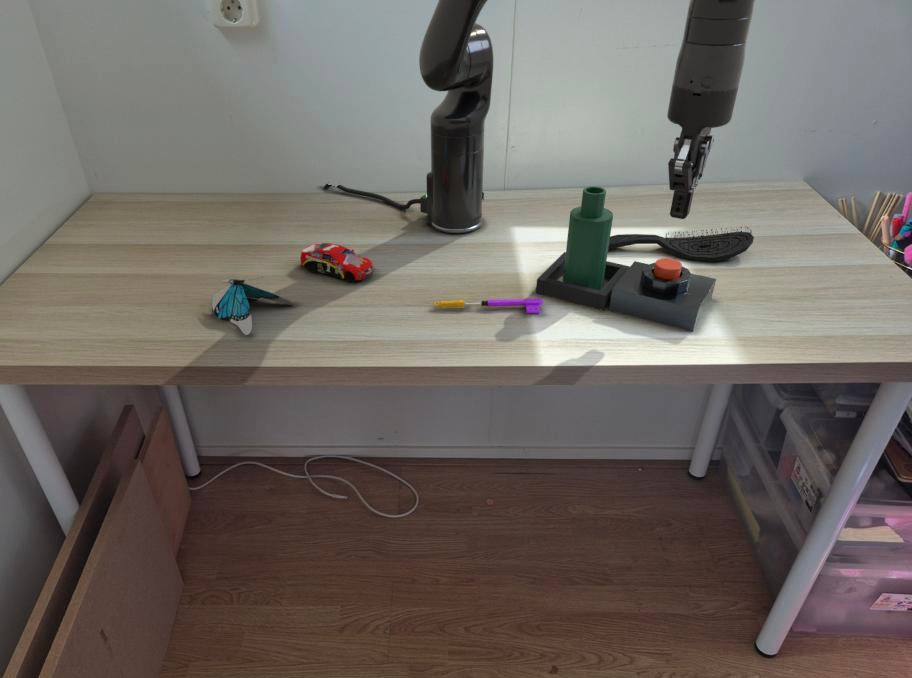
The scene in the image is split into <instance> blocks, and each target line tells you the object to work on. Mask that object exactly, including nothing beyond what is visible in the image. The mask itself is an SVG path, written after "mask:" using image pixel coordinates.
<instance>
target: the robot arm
mask: <svg viewBox="0 0 912 678" xmlns="http://www.w3.org/2000/svg"><path fill="white" fill-rule="evenodd" d="M488 1H489V0H438V2H437V4H436V6H435V9H434V11H433V13H432V16H431V19H430V21H429V23H428V26H427V28H426V31H425V33H424V36H423V39H422V41H421V46H420V48H419V49H420V51H419V56H418V64H419V73H420V76H421V79H422V81H423V83H424V85H426V87H427V88H428V89H430V90H432V91H435V92H447V93H446V95H445V96H444V98H443V100H442V101H441V102H440V103H439V104H438V105H437V106H435V108H434V109H433V110H432V111H431V114H430V121H429V123H430V171H429V172H427V173H426V179H425V180H426V193H425V194H424V195H422V196H421V197H419V198H413V199H410V200H408V201H407V202H406V203H405V204H403V203H402V204H401V203H399V202H396V201H394V200H393V199H391V198H388V197H386V196H384V195H381V194H379V193H378V194H377V193H374V192H369V191H364V190H358V189H353V188H350V187H346V186H344V185H343V184H342V185H341V184H340V185H338V186H337V187H335V186H332V185H328V184H327V183H325V185H324V186H323V189H324V190H325V189H329V188H330V187H334V188H336V189H338V190H340V191H341V192H344V193H348V194H352V195H357V196H363V197H368V198H370V199H371V198H372V199H375V200H379V201H382V202H383V203H384V202H385V203H387V204H388V205H390V206H391V207H394V208H397V209H400V210H408V209H410V207H411V206H413V205H417V204H419V206H420V207H419V210H420V213H422V214H426V225H429V226H431V227H432V228H433V229H435V230H437V231H439V232H442V233H446V234H447V233H448V234H463V233H465V234H466V233H469V232H474V231H476V230H478V229H479V228H480V227H481V226H482V225H483V201H484V199H485V192H484V191H483V190H484V162H485V161H484V159H485V130H486V129H485V127H486V126H485V125H486V119H487V116H488V114H489V111H490V108H491V100H492V99H491V98H492V88H493V77H494V48H493V42H492V39H491V37H490V35H489V33H488V31H487V30H486V28H484V26H483V25H481V24H480V23H477V20H478V18H479V16H480V14H481V12H482V10H483V8H484V7H485V5H486V4H487V2H488ZM755 2H756V0H689V3H688V7H687V14H686V20H685V25H684V29H683V36H682V40H681V46H680V48H679V52H678V55H677V57H676V63H675V68H674V75H673V80H672V85H671V92H670V97H669V103H668V108H667V115H666V116H667V119H668V121H670V122H671V123H672V124H674V125H678V126H679V127H681V131H680V133H679V134H680V135H679V136H676V137H675V139H674V142H673V149H672V151H673V153H674V154H673V158H672V157H671V158H669V159H670V160H669V161H668V163H667V166H668V169H667V170H668V183H669V185H668V186H669V190H670V191H673V194H672V195H673V196H672V200H671V206H670V211H669V216H670V217H671V218H675V219H679V220H685V219H686V218H687V217H688V216H689V214H690V212H691V207H692V203H693V198H694V193H695V190H696V189H697V187H698V185H699V181H700V180H701V179H702V177H703V172H704V170H705V168H706V165H707V161H708V157H709V155H710V152H711V149H712V147H713V143H714V142H715V135H713V134H711V132H712V129H713V128H714V129H715V128H720V127H723V126H726V125H728V124H729V123H730V122H731V120H732V118H733V114H734V109H735V104H736V100H737V95H738V90H739V87H740V82H741V77H742V74H743V69H744V64H745V57H746V48H747V47H746V46H747V41H748V36H749V33H750V27H751V23H752V20H753V19H752V18H753V14H754V10H755V9H754V8H755Z"/></svg>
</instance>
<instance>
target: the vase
mask: <svg viewBox="0 0 912 678" xmlns="http://www.w3.org/2000/svg"><path fill="white" fill-rule="evenodd" d="M606 194H607V190H606V189H605V188H603V187H602V186H595V185H593V186H591V185H590V186H587V187H584V188H583V189H582V196H581V204H580V206H576V207H575V208H572V209H571V210H570V212H569V221H568V228H567V229H568V230H567V238H566V248H565V252H566V256H565V265H564V273H563V274H562V276H563V277H562V282H566V283H570V284H575V285H579V286H583V287H587V288H591V289H595V290H600V291H601V290H602V289H603V288H604V280H605V279H604V274H605V268H606V261H608V253H609V249H608V247H609V241H610V236H611V235H612V233H611V232H612V225H613V220H614V213H613V211H612V210H610V209H608V208H605V202H606Z"/></svg>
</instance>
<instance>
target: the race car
mask: <svg viewBox="0 0 912 678" xmlns="http://www.w3.org/2000/svg"><path fill="white" fill-rule="evenodd" d="M299 257H300V259H299V260H300V264H301V266H302V267H303V268H305V269H307V270H308V271H309V272H311V273H315V272H317V273H320V274H321V273H322V274H324V275H325V274H326V275H329V276H333V277H337V278H341V279H345V280H346V281H347V282H348V283H354V282H356V281H360V280H364V279H367V278H369V277H371V276H372V274H373V273H374V265H373V261H372V260H371V259H369V258H368V257H366V256H364V255H360V254H358V253H356V252H355V249H350V248H348V247H346V246H343V245H341V244H336V243H331V242H322V243H313V244H310V245H308V246H306V247H304V248H303V249H302V250H301V253H300V256H299Z"/></svg>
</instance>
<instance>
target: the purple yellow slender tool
mask: <svg viewBox="0 0 912 678" xmlns="http://www.w3.org/2000/svg"><path fill="white" fill-rule="evenodd" d="M465 305H481V307H524V309H525V311H526V314H540V312H541V311H540V310H541V309H540V306H542V305H544V299H542V298H540V297H532V298H531V297H530V298H529V297H527V298H526V297H525V298H510V299H509V298H508V299H486V300H485V299H483V300H481V302H465V299H456V300H440V301H434V307H440V308H458V309H459V308H462V309H463V308H465Z"/></svg>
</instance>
